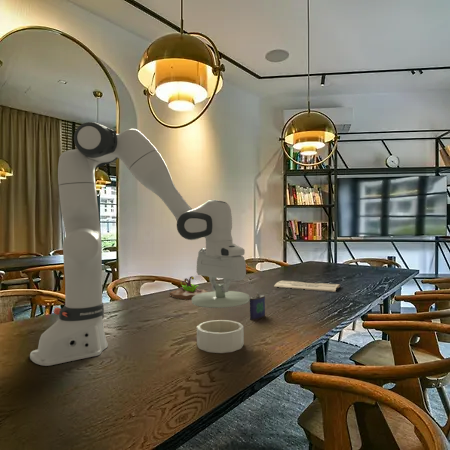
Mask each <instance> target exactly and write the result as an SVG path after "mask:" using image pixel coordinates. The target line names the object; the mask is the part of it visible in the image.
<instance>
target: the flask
mask: <svg viewBox="0 0 450 450" xmlns="http://www.w3.org/2000/svg"><path fill="white" fill-rule="evenodd" d="M249 300H250V301H249V317H250V319H249V320H250V321H257V320H260V319H262V318H265V316H266V296H265V295H261V292H260V293H259V292H256V294H255V296H251V297H249Z"/></svg>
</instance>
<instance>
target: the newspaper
mask: <svg viewBox="0 0 450 450" xmlns="http://www.w3.org/2000/svg"><path fill="white" fill-rule="evenodd" d="M273 287H274V288H277V287H279V288H280V289H290V288H292V290H303V289H305V291H319V292H331V293H337V291H336V290H337V289H339V288H340V287H341V285H340V284H338V283H322V282H308V281H296V280H295V281H294V280H279V281H277V282H276V283H275V284H274V285H273Z"/></svg>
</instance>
